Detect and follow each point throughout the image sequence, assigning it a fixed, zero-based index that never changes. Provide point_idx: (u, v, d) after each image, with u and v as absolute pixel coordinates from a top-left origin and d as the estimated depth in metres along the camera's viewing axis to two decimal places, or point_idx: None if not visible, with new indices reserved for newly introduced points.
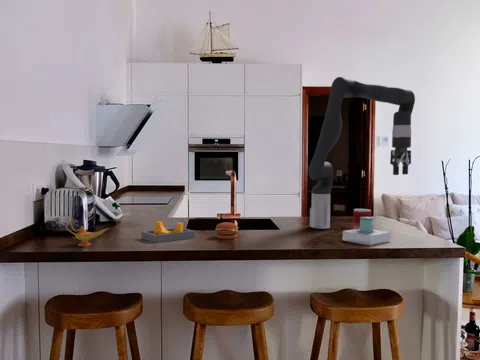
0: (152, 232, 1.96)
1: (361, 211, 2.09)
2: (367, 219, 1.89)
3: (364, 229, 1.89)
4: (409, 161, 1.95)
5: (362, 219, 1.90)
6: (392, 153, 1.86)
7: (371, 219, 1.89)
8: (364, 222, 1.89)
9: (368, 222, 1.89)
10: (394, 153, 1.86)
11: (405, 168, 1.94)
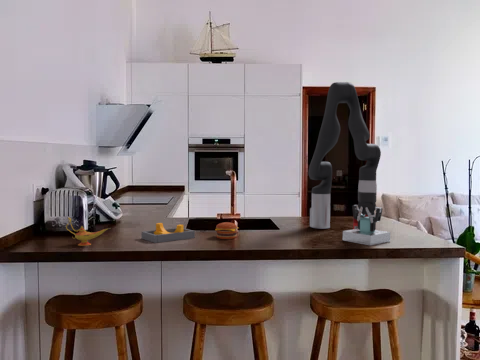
0: (152, 232, 1.96)
1: None
2: (367, 219, 1.89)
3: (364, 229, 1.89)
4: None
5: (362, 219, 1.90)
6: (379, 211, 1.86)
7: None
8: (364, 222, 1.89)
9: (368, 222, 1.89)
10: (381, 211, 1.86)
11: None
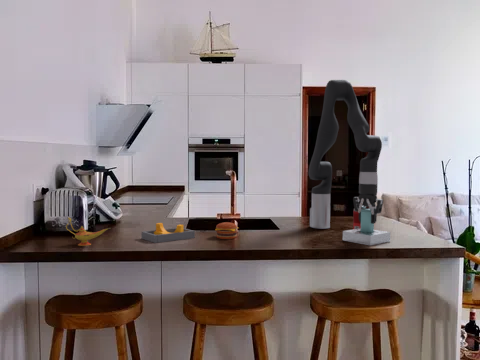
0: (152, 232, 1.96)
1: None
2: (368, 211, 1.89)
3: (365, 221, 1.89)
4: None
5: (363, 211, 1.90)
6: (380, 203, 1.85)
7: None
8: (365, 214, 1.89)
9: (369, 214, 1.89)
10: (381, 203, 1.86)
11: None
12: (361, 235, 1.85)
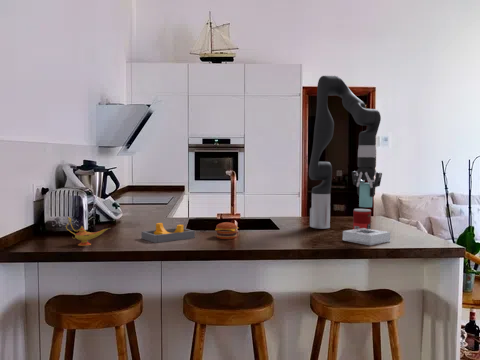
0: (152, 232, 1.96)
1: (361, 211, 2.09)
2: (367, 184, 1.89)
3: (364, 194, 1.89)
4: None
5: (362, 184, 1.90)
6: (379, 176, 1.86)
7: None
8: (364, 187, 1.89)
9: (368, 187, 1.89)
10: (380, 176, 1.86)
11: None
12: (361, 235, 1.85)
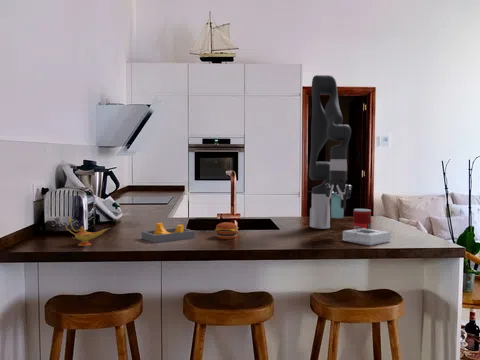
0: (152, 232, 1.96)
1: (361, 211, 2.09)
2: (338, 196, 1.98)
3: (335, 206, 1.99)
4: None
5: (333, 196, 1.99)
6: (349, 188, 1.95)
7: None
8: (335, 199, 1.99)
9: (339, 199, 1.98)
10: (350, 188, 1.96)
11: None
12: (361, 235, 1.85)
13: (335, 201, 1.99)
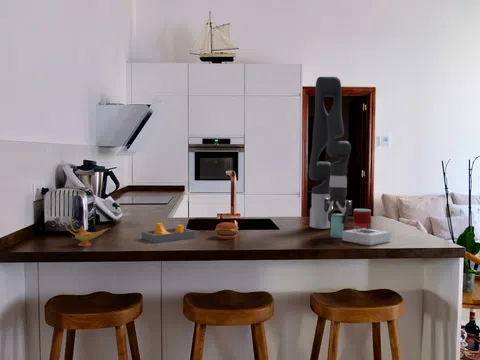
0: (152, 232, 1.96)
1: (361, 211, 2.09)
2: (337, 216, 1.99)
3: (335, 225, 1.99)
4: None
5: (333, 216, 2.00)
6: (349, 204, 1.95)
7: (341, 216, 1.99)
8: (334, 219, 1.99)
9: (338, 219, 1.99)
10: (350, 204, 1.96)
11: None
12: (361, 235, 1.85)
13: (335, 221, 1.99)
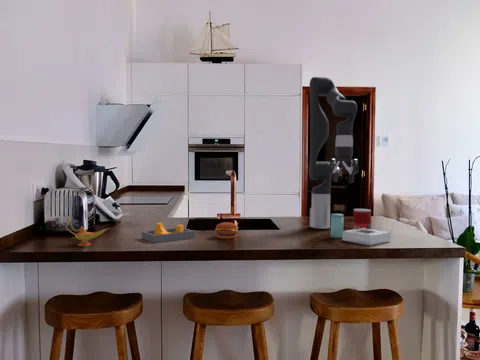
0: (152, 232, 1.96)
1: (361, 211, 2.09)
2: (337, 216, 1.99)
3: (335, 225, 1.99)
4: None
5: (333, 216, 2.00)
6: (355, 162, 1.94)
7: (341, 216, 1.99)
8: (334, 219, 1.99)
9: (338, 219, 1.99)
10: (357, 162, 1.95)
11: (336, 176, 2.03)
12: (361, 235, 1.85)
13: (335, 221, 1.99)
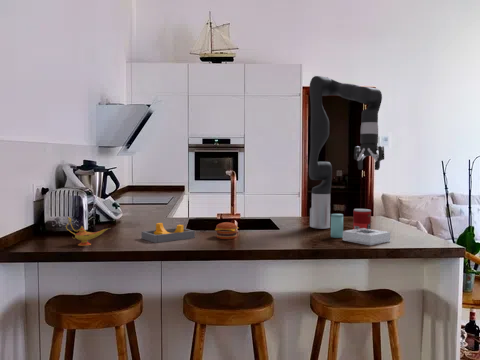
0: (152, 232, 1.96)
1: (361, 211, 2.09)
2: (337, 216, 1.99)
3: (335, 225, 1.99)
4: (359, 157, 2.06)
5: (332, 216, 2.00)
6: (381, 149, 1.95)
7: (341, 216, 1.99)
8: (334, 219, 1.99)
9: (338, 219, 1.99)
10: (383, 149, 1.95)
11: (361, 163, 2.04)
12: (361, 235, 1.85)
13: (334, 221, 1.99)
